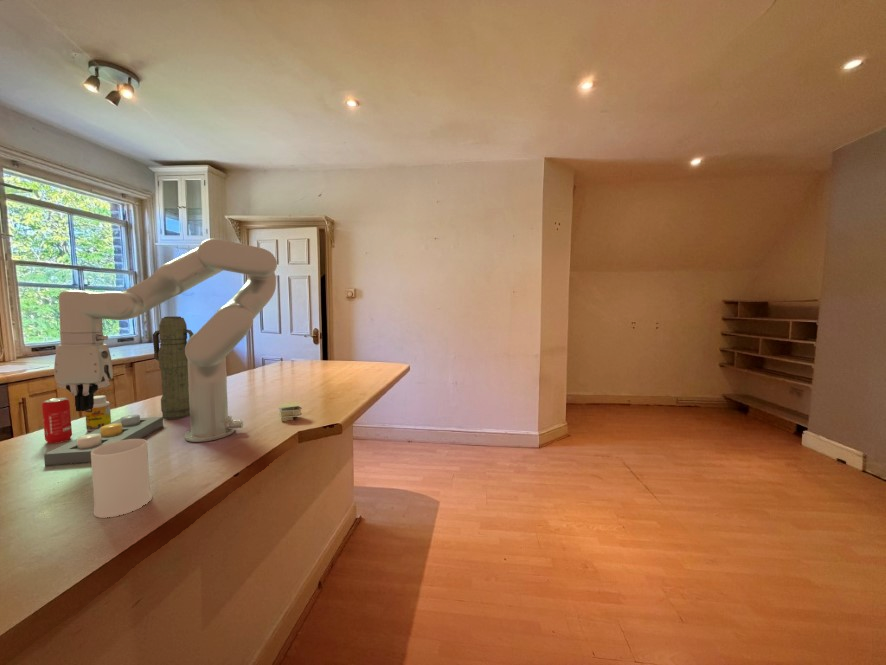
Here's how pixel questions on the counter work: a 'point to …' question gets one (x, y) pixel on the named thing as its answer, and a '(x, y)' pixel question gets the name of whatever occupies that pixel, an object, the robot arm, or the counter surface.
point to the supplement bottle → (98, 414)
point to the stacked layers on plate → (289, 410)
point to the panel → (83, 455)
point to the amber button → (111, 429)
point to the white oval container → (120, 477)
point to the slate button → (130, 420)
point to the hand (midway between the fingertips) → (84, 409)
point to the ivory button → (89, 441)
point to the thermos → (173, 366)
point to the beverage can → (57, 420)
